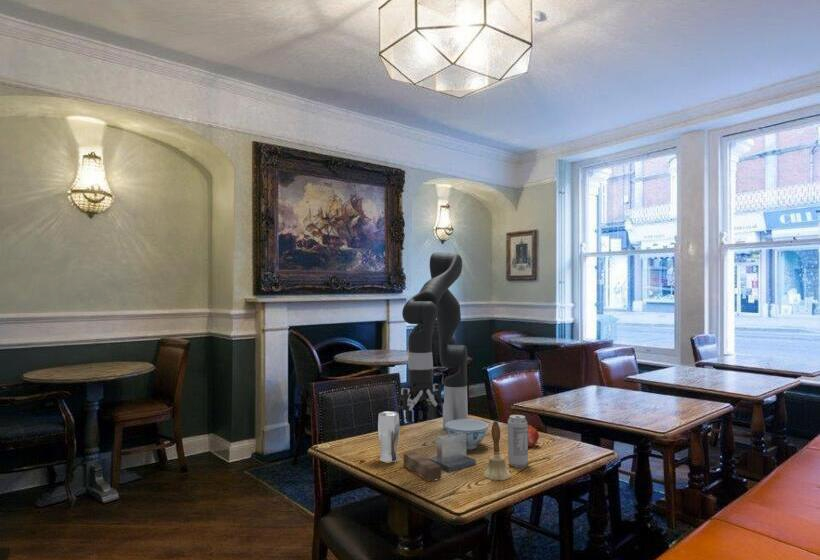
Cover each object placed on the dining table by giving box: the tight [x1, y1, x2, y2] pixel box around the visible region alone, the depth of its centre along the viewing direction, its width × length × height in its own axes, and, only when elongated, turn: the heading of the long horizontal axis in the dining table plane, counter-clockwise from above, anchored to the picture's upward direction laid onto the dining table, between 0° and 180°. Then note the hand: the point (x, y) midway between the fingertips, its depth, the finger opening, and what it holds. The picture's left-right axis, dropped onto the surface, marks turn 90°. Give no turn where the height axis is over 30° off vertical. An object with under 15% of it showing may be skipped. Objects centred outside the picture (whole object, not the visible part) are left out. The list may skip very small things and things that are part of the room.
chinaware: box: [445, 419, 489, 450], centre depth 180 cm, size 15×15×8 cm
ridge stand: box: [428, 432, 477, 473], centre depth 162 cm, size 10×11×9 cm
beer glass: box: [377, 411, 400, 463], centre depth 166 cm, size 7×7×15 cm
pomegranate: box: [527, 424, 540, 448], centre depth 181 cm, size 7×7×10 cm
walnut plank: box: [403, 451, 442, 482], centre depth 155 cm, size 16×4×4 cm, turn 28°
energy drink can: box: [507, 414, 529, 468], centre depth 161 cm, size 6×6×15 cm
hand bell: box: [482, 420, 512, 481], centre depth 152 cm, size 8×8×16 cm
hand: (421, 420), depth 155 cm, fingers open, 8 cm apart
